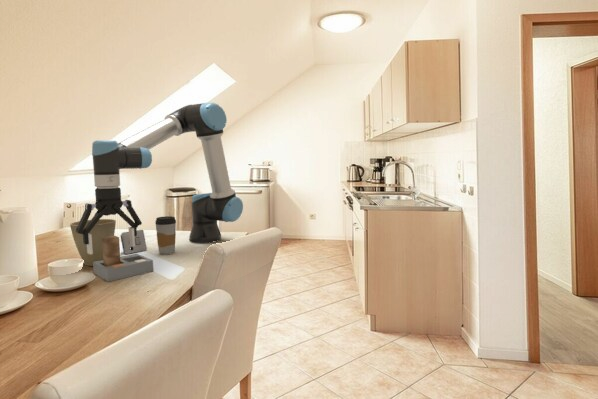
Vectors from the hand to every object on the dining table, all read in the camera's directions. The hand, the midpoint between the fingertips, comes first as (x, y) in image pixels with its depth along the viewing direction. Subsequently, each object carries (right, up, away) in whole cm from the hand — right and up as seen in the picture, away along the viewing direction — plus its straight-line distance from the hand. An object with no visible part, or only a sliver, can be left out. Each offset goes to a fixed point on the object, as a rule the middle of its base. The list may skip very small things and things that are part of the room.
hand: (112, 249), depth 121 cm
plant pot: (-14, -7, +14) cm, 21 cm away
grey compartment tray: (+2, -8, +3) cm, 9 cm away
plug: (0, -8, +1) cm, 8 cm away
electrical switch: (-7, -6, +31) cm, 33 cm away
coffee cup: (+7, -6, +30) cm, 32 cm away
